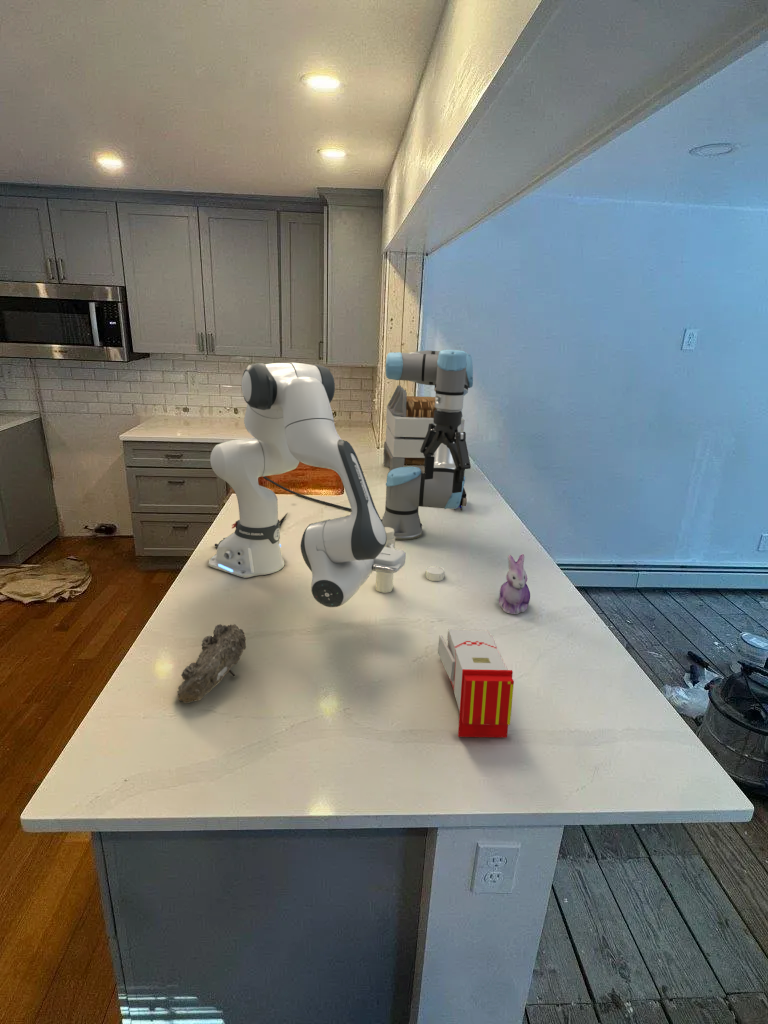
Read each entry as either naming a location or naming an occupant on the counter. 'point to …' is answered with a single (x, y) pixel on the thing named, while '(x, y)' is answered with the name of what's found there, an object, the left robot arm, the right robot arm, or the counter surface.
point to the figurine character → (463, 500)
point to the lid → (434, 573)
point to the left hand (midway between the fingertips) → (373, 543)
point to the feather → (282, 520)
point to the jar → (385, 579)
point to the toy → (478, 682)
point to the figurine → (515, 588)
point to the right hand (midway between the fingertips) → (442, 485)
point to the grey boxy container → (407, 428)
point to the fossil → (212, 662)
